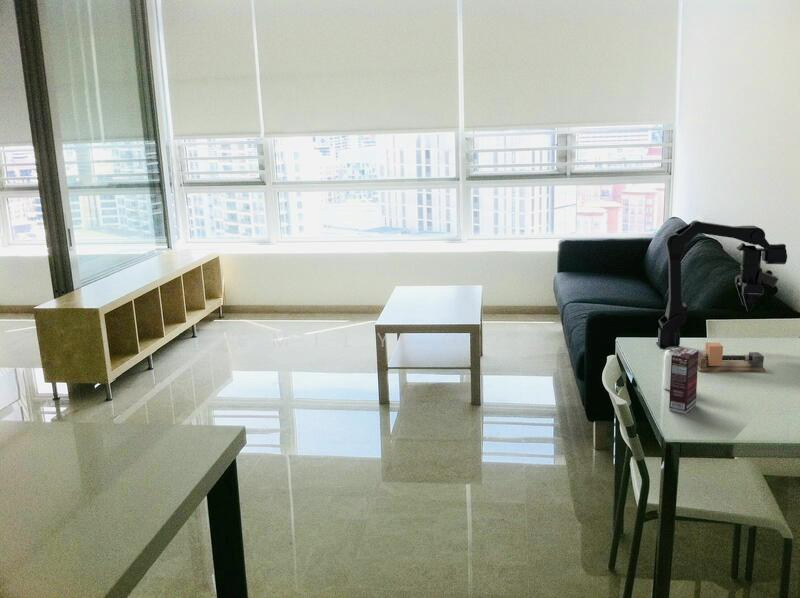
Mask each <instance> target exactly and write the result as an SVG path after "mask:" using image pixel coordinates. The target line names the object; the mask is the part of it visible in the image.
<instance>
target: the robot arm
mask: <svg viewBox="0 0 800 598" xmlns="http://www.w3.org/2000/svg"><path fill="white" fill-rule="evenodd" d="M699 234H702V235H707V236H708V235H710V236H717V237H723V238H728V239H729V238H730V239H735V240H738V241H741V244H739V245H738V246H736V250H737V251H740V252H741V251H742V257H741V265H739V266H740V270H741V271H740V274H737V275H736V276H735V279H734V283H735V287H736V289H737V292H738V296H739V298H740V301H741V305H742V306H744V307H745V308H746V312H747V313H752V311H753V308H754V306H755V303H756V300H757V298H759V297H761V296H762V295H764V294H765V287H764V286H763V285H762V283H763V284H766V285H768V286H770V287H772V288H775V286H776V285H777V282H778V280H779V277H777V276H776V275H774V274H773V271H772V270H770V269H766V270H763V268H762V267H761V266H762V265H761V262H764V264H766V265H786V263H787V260H788V255H787V253H788V252H787V248H786V244H785V243H777V244H776V243H774V244H770V243H769V242H768V240H767V238H766V233H765V231H764V230H763V228H760V227H758V226H756V225H739V226H738V225H736V226H734V225H733V226H732V225H727V224H726V225H725V224H719V223H713V222H704V221H700V220H692V221H691V222H690V223H688V224H687V225H685V226H683V227H681V228H679V229H678V230H676V231H674V232H673V231H672V232H669V233H667V234H666V235H665V237H664V240H663V243H664V248H665V252H666V256H667V260H668V263H667V264H668V301H667V305H666V308H665V314H664V315H663V316H661V318H659V319H658V324H659V326H660V327H658V332H657V334H658V335H657V341H656V344H657V346H658V347H659V348H660V349H666V348H668V347H680V345H681V344H680V343H681V333H680V328H681V326H683V325H684V324H685V323H686V319H688V305H687V304H686V303H685V302H682V301H683V300H682V259H683V255H684V252H685V251H684V250H685V245H686V244H688V243H689V242H690V241H692V240H693V239H694V238H695V237H696V236H697V235H699ZM745 243H747V245H746V244H745ZM756 246H759V247H756Z"/></svg>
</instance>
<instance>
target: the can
mask: <svg viewBox="0 0 800 598" xmlns="http://www.w3.org/2000/svg"><path fill="white" fill-rule="evenodd" d="M682 348H683V347H681V346H679V347H668V348H665V349H666V350H665V352H664V359H663V376H662V388H663V389H664V388H665V390H666V391H668V390H669V392H670V380H671V358H672V355H673V354H674V353H676V352H677V351H679V350H680V349H682Z"/></svg>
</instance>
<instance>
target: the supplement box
mask: <svg viewBox="0 0 800 598" xmlns="http://www.w3.org/2000/svg"><path fill="white" fill-rule="evenodd" d="M698 352H699V349H691V348H685V347H682V349H680V350H679V351H677V352H676V353H674V354H673V355H672V358H671V380H670V391H669V400H668V401H669V403H668V404H669V405H668V410H669V412H674V413H677V414H678V413H679V414H685V415H686V414H687V413H688V412H689V411H691V410H692V409H693V408H694V407H695V406H696V405H697V388H698V386H697V385H698Z"/></svg>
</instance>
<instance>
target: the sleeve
mask: <svg viewBox="0 0 800 598" xmlns="http://www.w3.org/2000/svg"><path fill="white" fill-rule="evenodd" d="M723 353H724V345H722V344H721V343H720V342H705V349H704V355H708V360H706V364H707V365H708V366H722V361H723V360H722V355H724V354H723Z"/></svg>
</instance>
